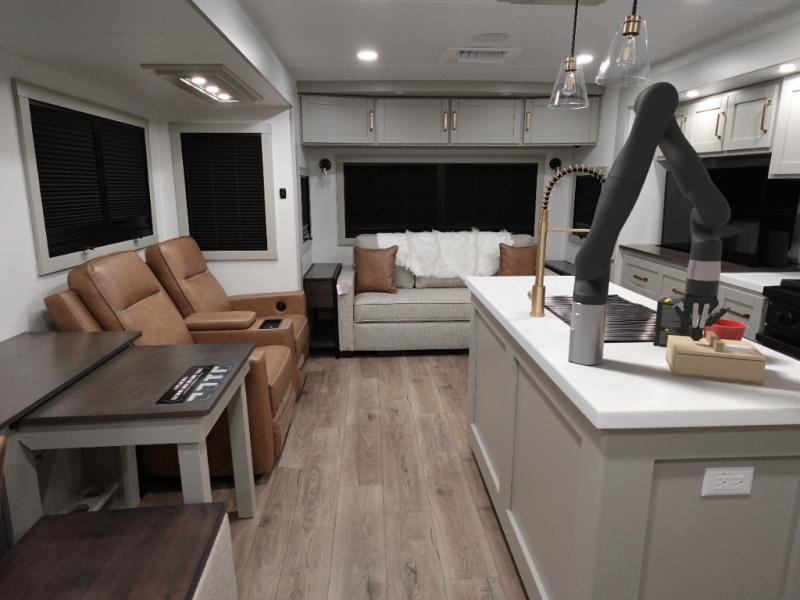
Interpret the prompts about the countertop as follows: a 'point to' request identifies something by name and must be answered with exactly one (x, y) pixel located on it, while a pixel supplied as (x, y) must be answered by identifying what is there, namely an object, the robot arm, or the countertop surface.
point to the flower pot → (727, 329)
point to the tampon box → (669, 321)
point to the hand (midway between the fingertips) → (695, 340)
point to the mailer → (715, 367)
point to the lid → (716, 347)
